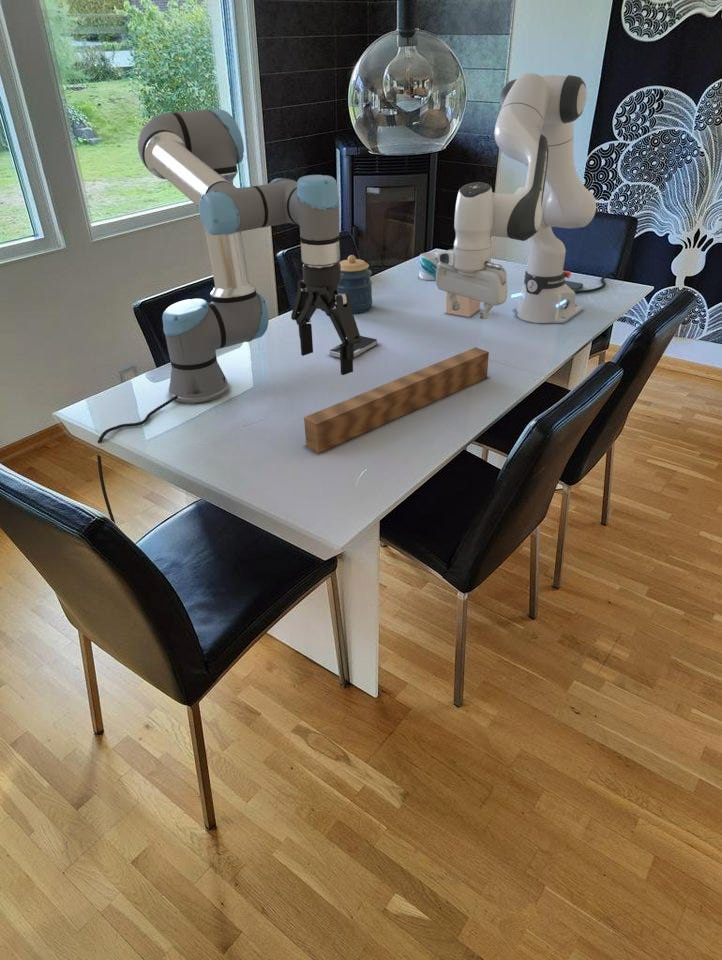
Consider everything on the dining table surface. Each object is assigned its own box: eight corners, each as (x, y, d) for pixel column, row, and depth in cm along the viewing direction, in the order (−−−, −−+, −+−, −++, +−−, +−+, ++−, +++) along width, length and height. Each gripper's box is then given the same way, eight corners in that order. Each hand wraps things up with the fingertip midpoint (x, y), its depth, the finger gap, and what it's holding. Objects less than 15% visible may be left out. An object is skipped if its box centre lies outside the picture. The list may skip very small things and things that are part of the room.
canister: (340, 315, 224) (337, 262, 214) (330, 304, 234) (327, 252, 224) (377, 311, 226) (376, 257, 217) (366, 299, 237) (364, 248, 227)
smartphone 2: (577, 289, 235) (536, 281, 242) (576, 293, 236) (535, 286, 243) (584, 283, 240) (544, 276, 247) (583, 287, 241) (543, 280, 248)
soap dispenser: (469, 317, 218) (472, 247, 206) (445, 313, 222) (447, 244, 210) (485, 305, 227) (489, 238, 215) (462, 302, 231) (465, 236, 219)
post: (318, 453, 148) (316, 424, 144) (306, 446, 151) (303, 417, 147) (487, 377, 179) (489, 351, 175) (474, 372, 182) (475, 347, 178)
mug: (415, 278, 257) (415, 256, 252) (430, 270, 265) (430, 248, 261) (434, 281, 253) (435, 258, 248) (448, 272, 261) (449, 250, 257)
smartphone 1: (378, 339, 201) (349, 356, 191) (378, 343, 202) (349, 360, 191) (357, 335, 205) (327, 351, 195) (357, 339, 206) (328, 355, 195)
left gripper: (378, 272, 125) (378, 376, 137) (298, 246, 141) (305, 341, 153) (347, 281, 121) (350, 387, 133) (269, 253, 137) (278, 350, 149)
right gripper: (515, 263, 154) (510, 320, 162) (449, 247, 168) (448, 301, 175) (497, 269, 151) (493, 328, 159) (432, 253, 164) (431, 308, 172)
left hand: (326, 363), depth 143 cm, fingers open, 13 cm apart
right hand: (469, 314), depth 167 cm, fingers open, 8 cm apart
